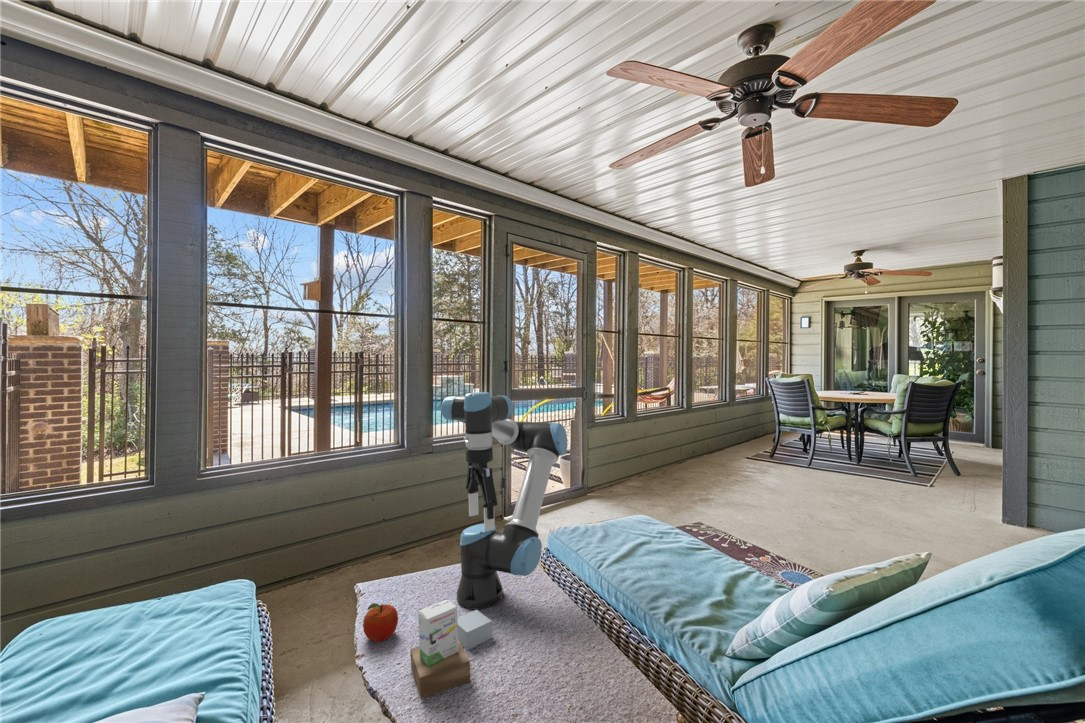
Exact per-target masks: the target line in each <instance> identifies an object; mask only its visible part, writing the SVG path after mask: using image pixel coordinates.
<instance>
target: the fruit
mask: <svg viewBox="0 0 1085 723" xmlns="http://www.w3.org/2000/svg"><path fill="white" fill-rule="evenodd" d="M398 615H399V614H398V611H397V609H396V608H395V607H394V606H393V605H391V604H383V603H382V604H380V605H379V603H376V602H374V603H372V604H370V605H369V606H368V607H367V613H365V615H364V618H363V621H362V622H363V623H362V628H363V632H364V634H365V637H366V638H367V639H368V640H369V641H371V642H374V643H379V642H384V641H386V640H388V639H390V638H391V637H392V635H393V634H394V632H395V631H396V629H397V626H398V624H399V616H398Z"/></svg>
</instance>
